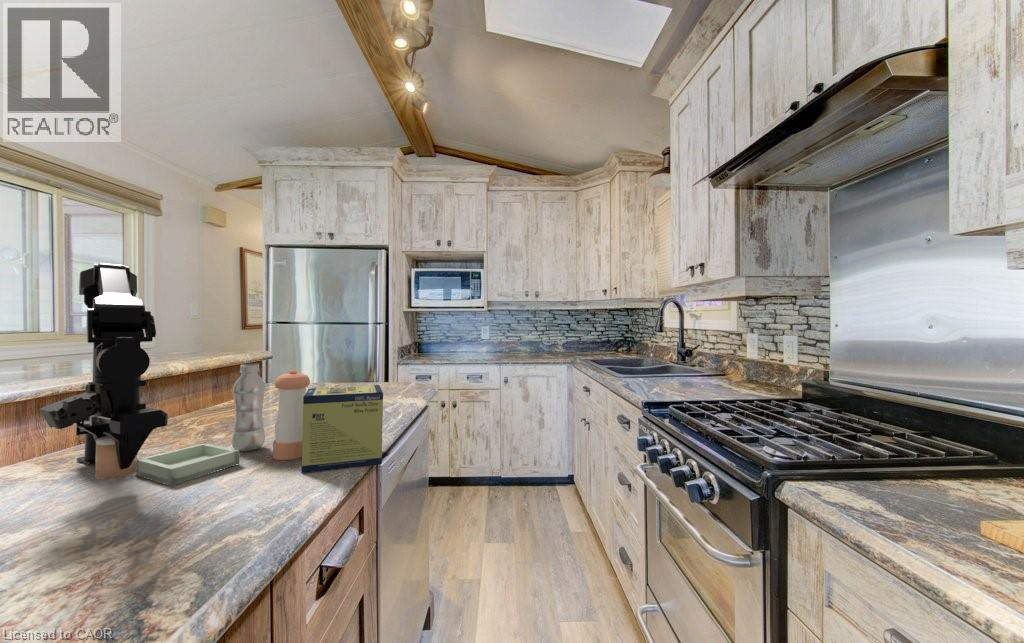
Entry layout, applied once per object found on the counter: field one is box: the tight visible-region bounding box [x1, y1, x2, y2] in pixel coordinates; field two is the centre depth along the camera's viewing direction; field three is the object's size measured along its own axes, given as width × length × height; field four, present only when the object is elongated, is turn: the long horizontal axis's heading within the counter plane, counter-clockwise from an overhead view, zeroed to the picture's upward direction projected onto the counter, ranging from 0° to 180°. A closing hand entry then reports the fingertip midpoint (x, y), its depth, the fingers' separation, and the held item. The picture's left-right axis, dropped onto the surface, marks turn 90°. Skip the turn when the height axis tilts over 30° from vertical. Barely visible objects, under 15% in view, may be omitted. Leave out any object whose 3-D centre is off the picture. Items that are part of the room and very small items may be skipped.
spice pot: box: [94, 436, 138, 480], centre depth 68 cm, size 5×5×6 cm
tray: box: [135, 442, 240, 487], centre depth 80 cm, size 12×12×3 cm
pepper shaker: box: [272, 369, 311, 461], centre depth 89 cm, size 7×7×19 cm
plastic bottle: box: [231, 363, 266, 452], centre depth 92 cm, size 6×7×20 cm
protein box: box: [300, 384, 384, 474], centre depth 86 cm, size 10×16×16 cm
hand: (116, 466), depth 68 cm, fingers closed on spice pot, 5 cm apart
